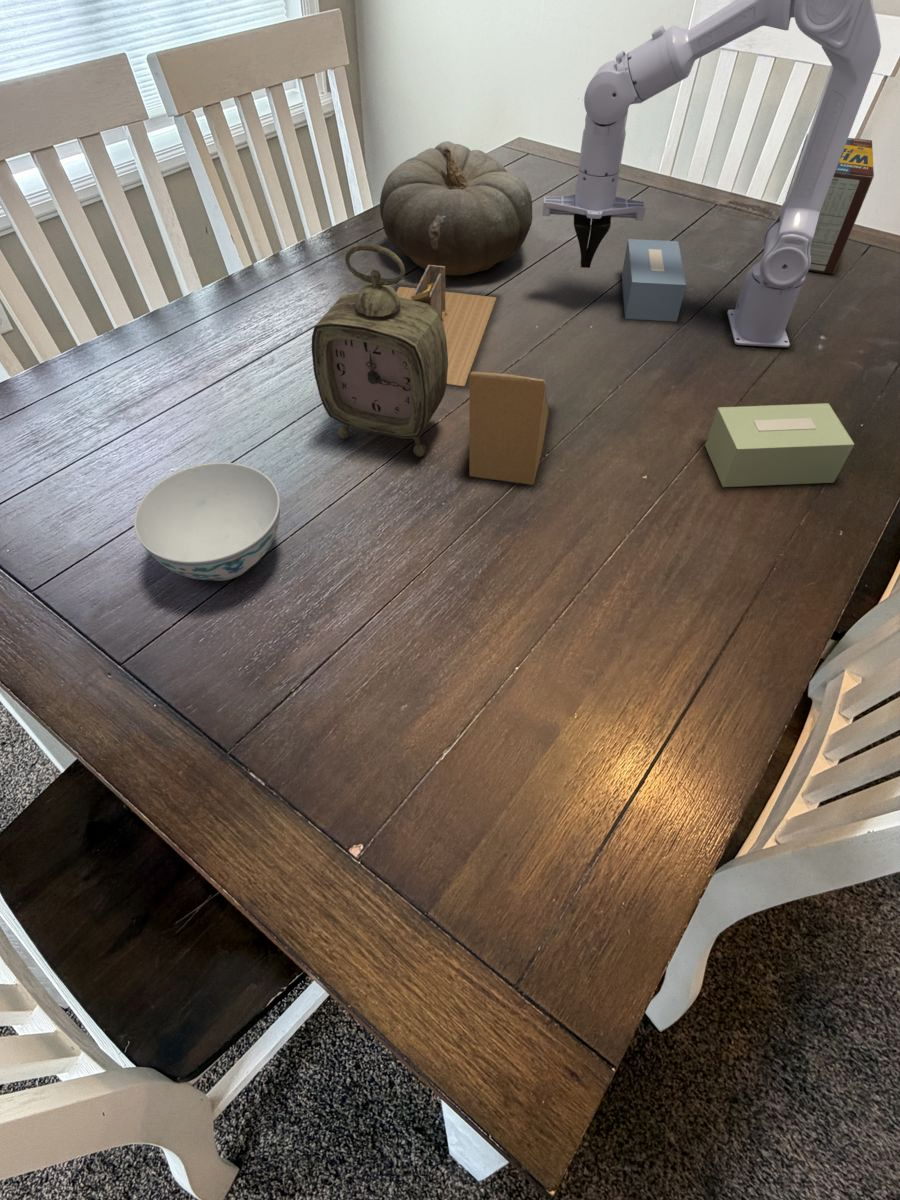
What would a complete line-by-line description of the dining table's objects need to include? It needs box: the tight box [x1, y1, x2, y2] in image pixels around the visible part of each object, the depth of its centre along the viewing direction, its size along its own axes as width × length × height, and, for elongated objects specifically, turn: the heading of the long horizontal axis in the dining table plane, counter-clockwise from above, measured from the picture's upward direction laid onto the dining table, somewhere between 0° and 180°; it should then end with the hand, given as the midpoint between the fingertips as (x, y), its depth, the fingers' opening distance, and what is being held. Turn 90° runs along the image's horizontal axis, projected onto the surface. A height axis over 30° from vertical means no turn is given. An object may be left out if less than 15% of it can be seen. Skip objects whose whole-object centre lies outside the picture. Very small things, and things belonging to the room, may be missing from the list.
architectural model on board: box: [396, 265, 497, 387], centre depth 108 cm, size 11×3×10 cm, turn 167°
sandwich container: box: [468, 371, 550, 486], centre depth 90 cm, size 9×15×15 cm, turn 168°
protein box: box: [784, 133, 875, 275], centre depth 122 cm, size 10×15×16 cm
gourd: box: [379, 140, 533, 277], centre depth 121 cm, size 25×25×17 cm
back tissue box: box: [621, 238, 687, 323], centre depth 116 cm, size 14×8×6 cm, turn 174°
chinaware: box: [133, 462, 281, 582], centre depth 80 cm, size 15×15×8 cm
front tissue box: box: [704, 402, 855, 488], centre depth 90 cm, size 8×14×6 cm, turn 93°
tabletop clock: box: [311, 243, 448, 458], centre depth 87 cm, size 14×9×25 cm, turn 70°
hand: (585, 264), depth 112 cm, fingers closed
